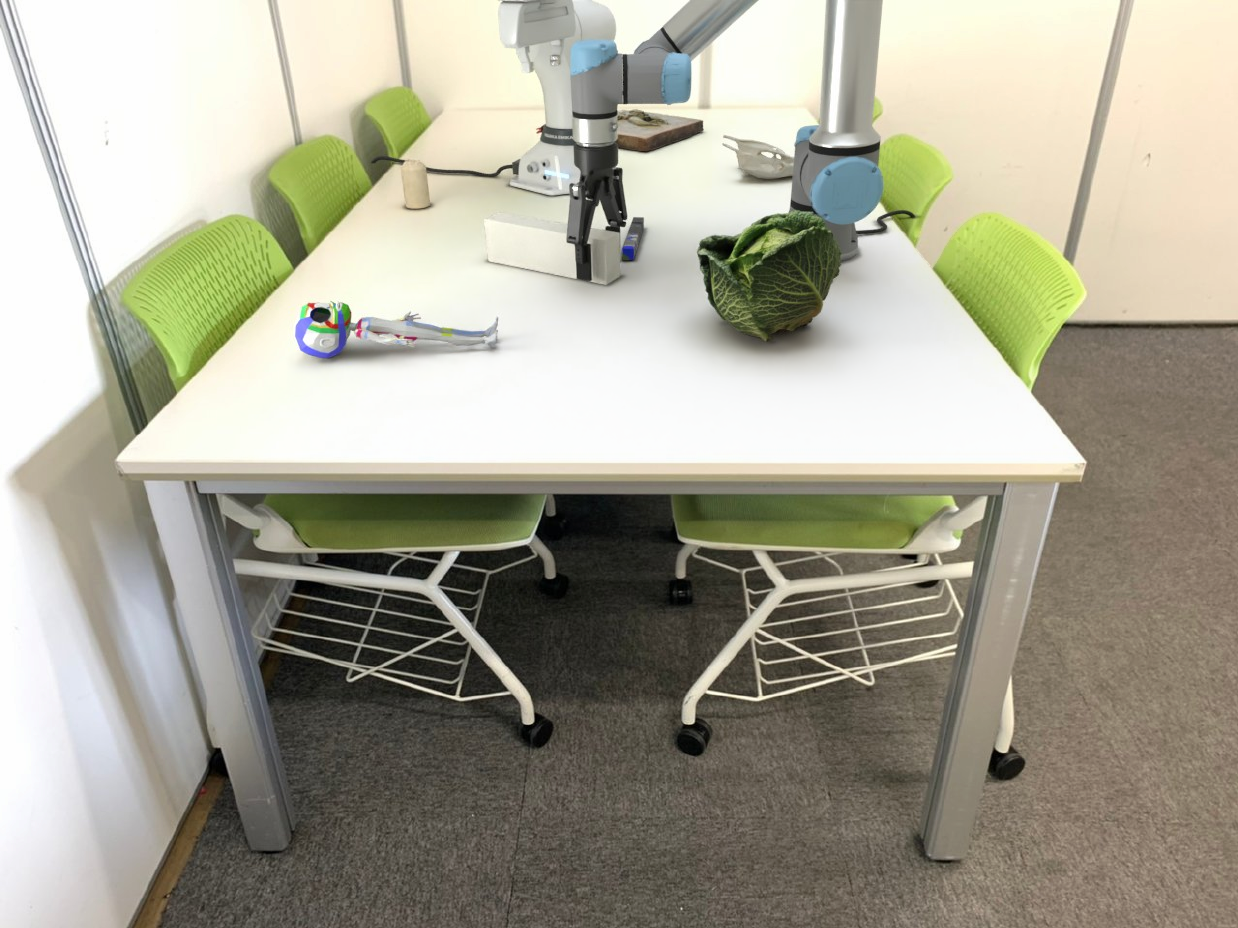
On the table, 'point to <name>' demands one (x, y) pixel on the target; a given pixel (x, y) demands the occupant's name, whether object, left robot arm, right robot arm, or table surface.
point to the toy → (371, 330)
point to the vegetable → (770, 272)
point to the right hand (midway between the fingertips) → (599, 270)
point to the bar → (549, 247)
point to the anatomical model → (761, 159)
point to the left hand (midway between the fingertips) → (542, 69)
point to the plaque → (653, 129)
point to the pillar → (633, 238)
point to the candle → (415, 184)
